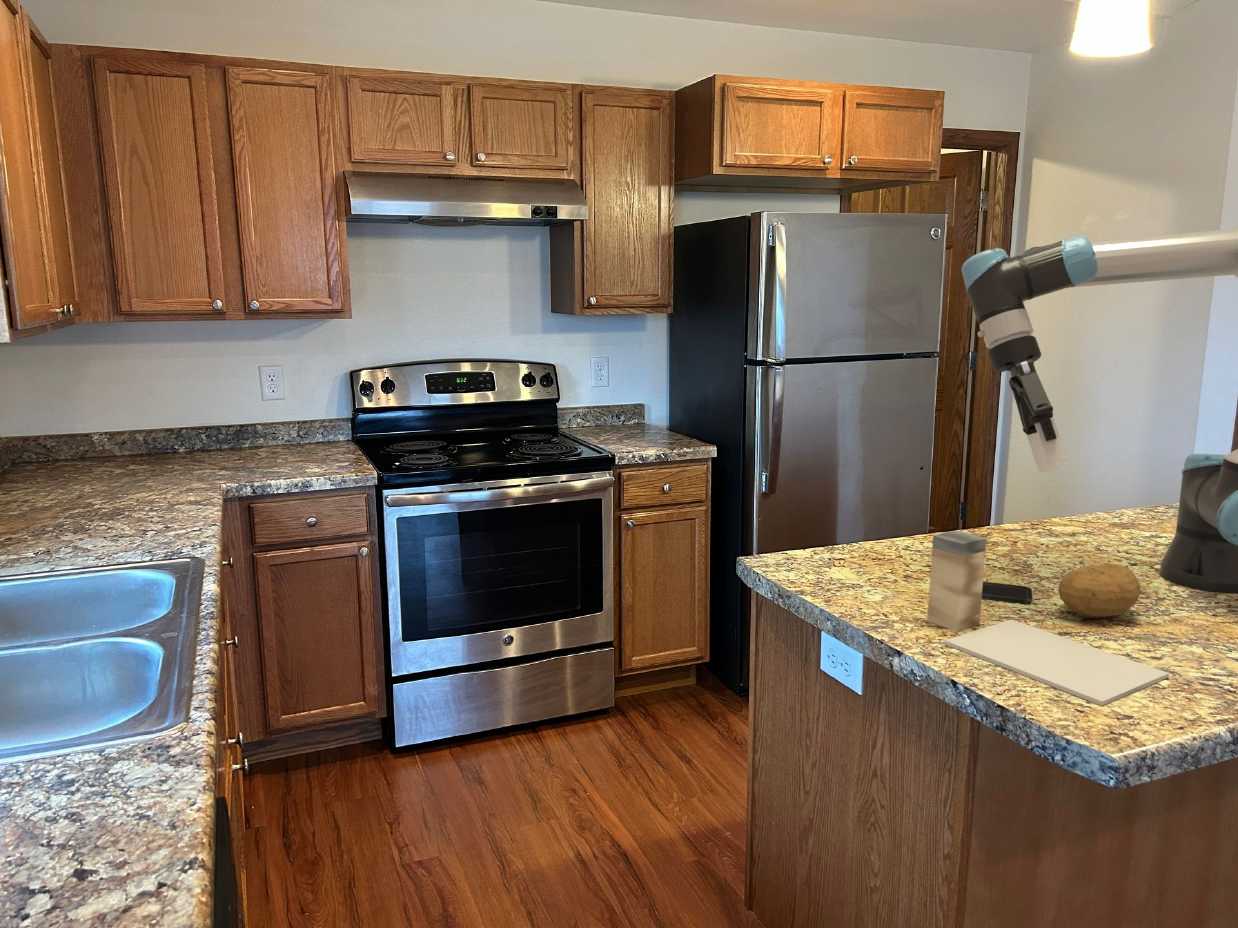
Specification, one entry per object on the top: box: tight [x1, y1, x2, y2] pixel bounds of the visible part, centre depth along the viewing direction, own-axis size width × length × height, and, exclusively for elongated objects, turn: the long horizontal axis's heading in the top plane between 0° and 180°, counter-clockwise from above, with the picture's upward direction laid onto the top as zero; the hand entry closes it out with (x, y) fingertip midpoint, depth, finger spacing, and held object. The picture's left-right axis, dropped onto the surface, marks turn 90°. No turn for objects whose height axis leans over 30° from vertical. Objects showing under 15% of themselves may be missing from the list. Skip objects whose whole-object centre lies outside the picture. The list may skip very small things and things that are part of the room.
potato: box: [1058, 563, 1141, 619], centre depth 147 cm, size 10×14×8 cm
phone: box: [981, 581, 1033, 606], centre depth 159 cm, size 8×1×15 cm
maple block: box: [927, 530, 987, 633], centre depth 143 cm, size 6×6×14 cm
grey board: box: [944, 619, 1170, 707], centre depth 130 cm, size 24×16×1 cm, turn 33°
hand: (1052, 466), depth 146 cm, fingers open, 13 cm apart
